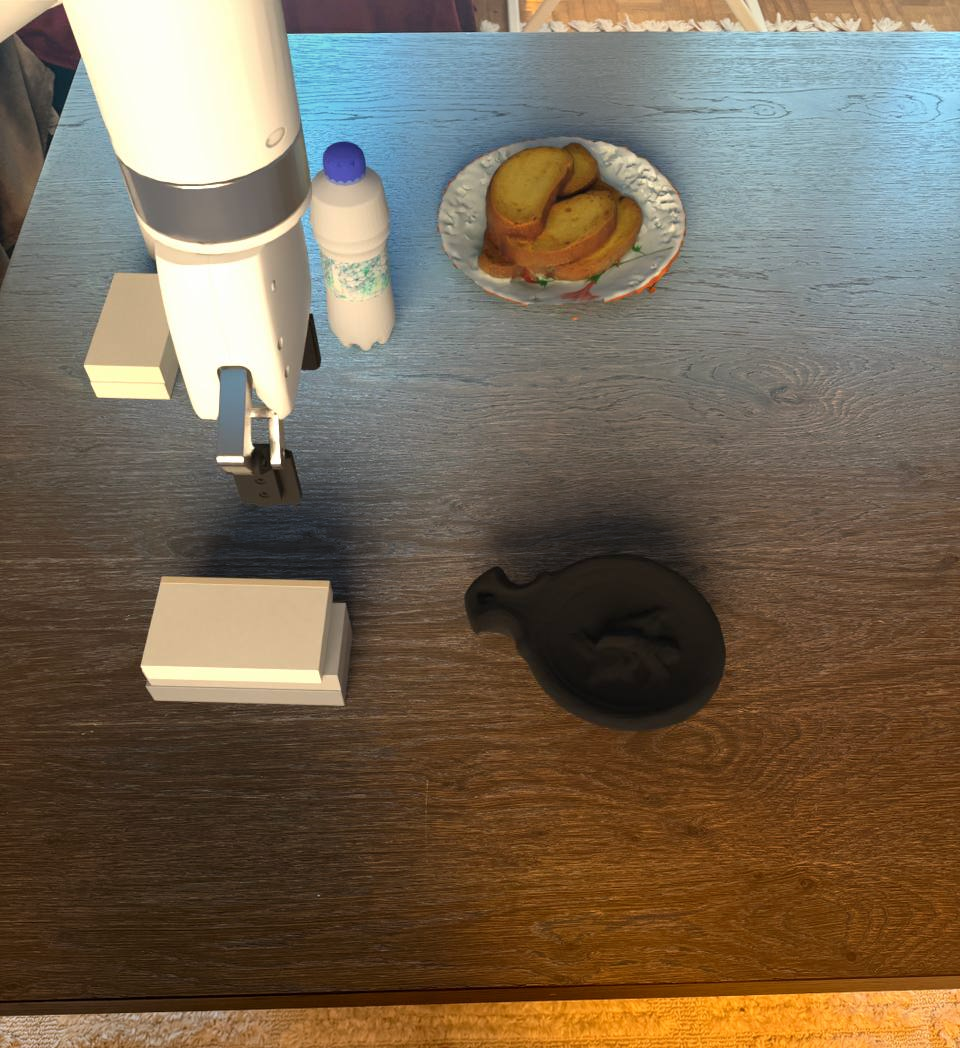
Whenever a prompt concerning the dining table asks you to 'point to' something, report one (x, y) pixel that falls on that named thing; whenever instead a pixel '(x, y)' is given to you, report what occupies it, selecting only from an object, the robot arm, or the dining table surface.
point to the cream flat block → (239, 630)
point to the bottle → (353, 246)
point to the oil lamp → (609, 638)
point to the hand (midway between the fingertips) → (284, 429)
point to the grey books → (273, 692)
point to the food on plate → (562, 222)
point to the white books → (133, 342)
